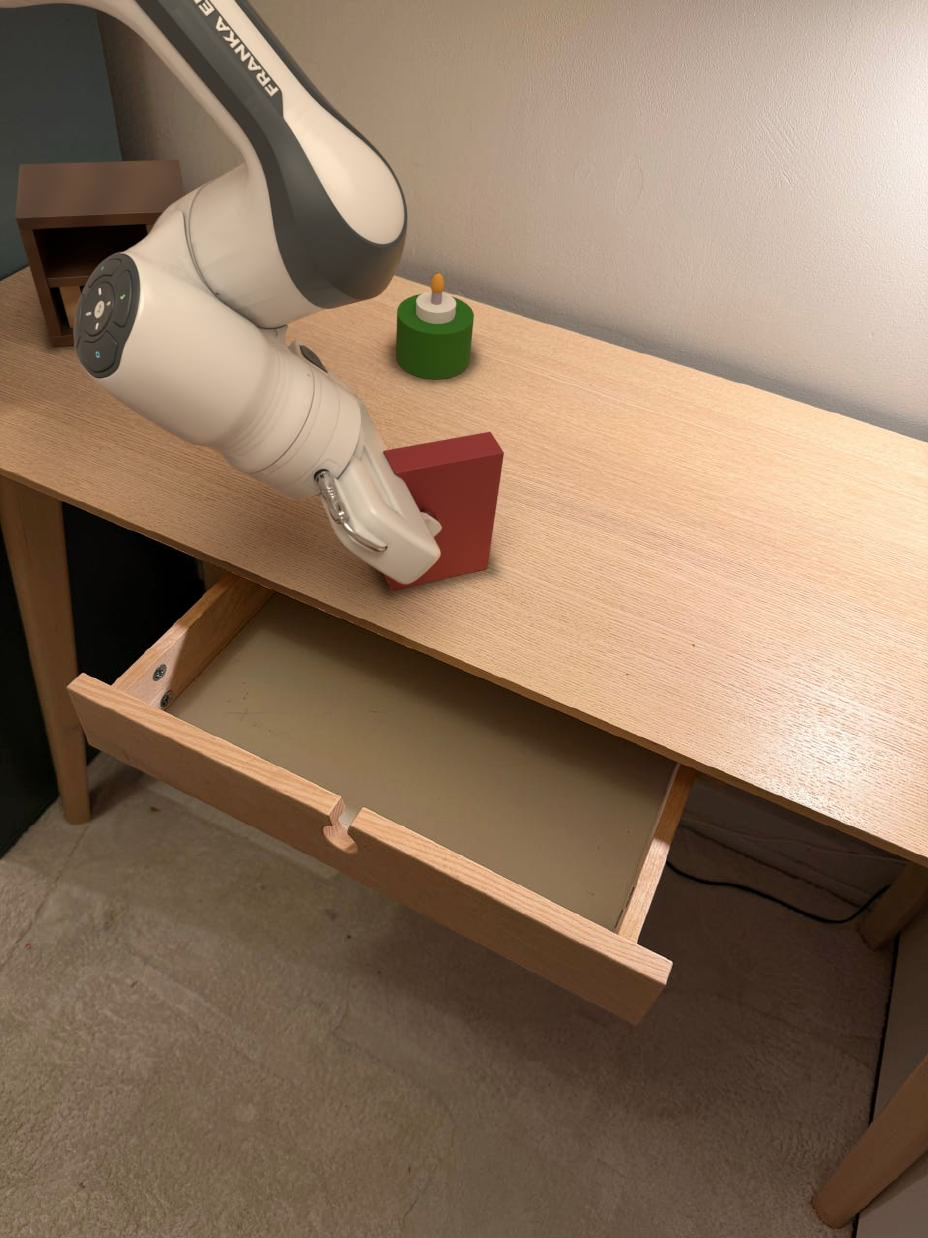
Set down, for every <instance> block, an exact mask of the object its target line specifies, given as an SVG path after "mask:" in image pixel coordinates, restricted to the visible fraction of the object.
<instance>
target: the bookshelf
mask: <svg viewBox="0 0 928 1238" xmlns="http://www.w3.org/2000/svg"><path fill="white" fill-rule="evenodd" d="M180 162H181V161H180V160H179V159H156V160H154V159H153V160H130V161H129V160H124V161H123V160H121V161H119V160H118V161H90V162H89V161H88V162H58V163H57V162H56V163H55V162H54V163H25V164H23V163H20V164H19V170H18V182H17V195H16V207H15V221H16V225H17V229H18V233H19V236H20V239H21V242H22V246H23V250H24V253H25V257H26V259H27V264H28V267H29V270H30V274H31V277H32V280H33V283H34V287H35V290H36V294H37V297H38V300H39V305H40V307H41V311H42V315H43V319H44V321H45V324H46V328H47V332H48V335H49V339H50V341H51V345H52V347H53V348H56V347H70V346H71V347H72V346H74V334H73V326H74V316H75V311H76V307H77V303H78V300H79V297H80V295H81V294H82V291H83V289H84V287H85V285H86V283H87V281H88V279H89V277H90V276H91V274H92V273H93V271H94V270H95V269H96V267H97V266H98V265H99V264H100V263H101V262H102V261H103V260H105V259H106V258H108V257H109V256H111V255H113V254H116V253H120V252H124V251H126V250H128V249H130V248H131V247H133V246H135V245H136V244H138V243H139V242H140V241H142V240H143V239H144V238H145V237H146V236H147V235H148V234H149V233H150V230H151V228H152V226H153V224H154V222H155V221H156V219H157V218H158V217H159V215H160V214H161V213H162V212H164V211H165V210H166V209H167V208H168V207H169V206H170V205H171V204H173V203H174V202H175V201H177V200H179V199H180V198H182V197H183V196H185V195H186V192H185V187H184V180H183V175H182V174H183V173H182V169H181V163H180Z"/></svg>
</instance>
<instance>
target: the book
mask: <svg viewBox="0 0 928 1238" xmlns="http://www.w3.org/2000/svg"><path fill="white" fill-rule="evenodd" d="M383 453H384V455H385V457H386V459H387V461H388V462H389V464H390V466H391V468H392V470H393V472H394V474H395V475H396V476H398V477H399V478H401V479H402V480H403V481H404V482H405V484H406V485H407V487H408V489H409V491H410V493H411V495H412V497H413V499H414V501H415V503H416V505H417V507H418V508H419V510H422V509H423V508H426V509H427V510H429V511H430V512H431V513H434V514H435V515H436V517H437V519H438V521H439V523H440V525H441V526H442V529H441V531H440V532H439V533H438V534H437V535H435V536H434V539H435V541H436V543H437V545H438V546H439V549H440V552H441V555H440V557H439V559H438V560H437V561H436V562H435V563H434V564H433V565H432V566H431V568H430V569H429V570H428V571H426V572H425V573H424V574H423V575H422V576H421V577H419V578H418V579H417V580H415V581H414V582H412V583H410V584H401V583H399V582H397V581H395V580H393V579H392V578H390V577H388V576H387V575H385V574H383V576H384V578H385V580H386V582H387V585H388V587H389V589H390V591H397V590H401V589H405V588H409V587H414V586H419V585H422V584H427V583H431V582H435V581H440V580H445V579H448V578H454V577H458V576H463V575H466V574H471V573H475V572H481V571H484V570H487V569H488V568H489V560H490V553H491V547H492V539H493V532H494V526H495V518H496V511H497V505H498V497H499V491H500V483H501V477H502V471H503V462H504V456H505V452H504V450H503V449H502V447H501V446H500V444H499V442H498V441H497V439H496V438H495V436H494V434H493V433H492V432H491V431H487V432H480V433H474V434H469V435H462V436H457V437H452V438H447V439H442V440H435V441H429V442H424V443H418V444H413V445H408V446H402V447H397V448H390V449H388V450H385V451H383Z"/></svg>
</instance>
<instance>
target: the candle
mask: <svg viewBox="0 0 928 1238" xmlns="http://www.w3.org/2000/svg"><path fill="white" fill-rule="evenodd" d="M444 289H445V280H444V276H443V275H442V274H441V273H440V272H438V273H435V274H434V275H433V277H432V278H431V281H430V290H431V291H427V292H424V293H419V294H415V295H412V296H409V297H407V298H405V299H404V300H402V301H401V302H400V303H399V305H398V306H397V308H396V309H397V310H396V340H395V359H396V363H397V364H398V365H399V367H400V368H401V369H402V370H403V371H405V372H407V373H408V374H410V375H413V376H415V377H418V378H424V379H429V380H444V379H445V380H446V379H451V378H454V377H457V376H459V375H461V374H463V373H464V372H465V371H466V370H467V369H468V367H469V366H470V361H471V349H472V339H473V329H474V321H475V320H474V319H475V314H474V311H473V309H472V308H471V306H470V305H469V304H468V303H466V302H465V301H463V300H462V299H460V298H458V297H455V296H452V295H449V294H448V293H445V292H443V291H444Z"/></svg>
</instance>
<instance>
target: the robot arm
mask: <svg viewBox="0 0 928 1238" xmlns="http://www.w3.org/2000/svg"><path fill="white" fill-rule="evenodd" d="M49 4H51V5H52V4H71V5H78V6H84V7H88V8H91V9H96V10H98V11H100V12H102V13H105V14H107V15H108V16H111V17H113V18H115V19H116V20H118V21H120V22H121V23H123V24H124V25H125V26H128V28H130V29H131V30H132V31H133V32H135V33H136V34H137V35H138V36H139V37H140V38H141V39H142V40H143V41H144V42H145V43H146V44H147V45H148V46H149V48H150V49H151V50H152V51H153V52H154V53H155V55H157V57H158V58H159V59H160V60H161V61H162V63H163V64H164V65H165V66H166V67H167V68H168V70H169V71H170V72H171V73H172V75H173V76H174V77H175V78H176V79H177V80H178V82H179V83H180V84H181V85H182V86H183V87H184V88H185V90H186V91H187V92H188V93H189V95H190V96H191V97H192V98H193V99H194V100H195V102H197V104H198V105H199V106H200V108H201V109H202V110H203V111H204V112H205V113H206V114H207V115H208V116H209V118H210V120H211V121H213V122H214V124H215V125H216V126H217V127H218V128H219V129H220V131H221V132H222V133H223V134H224V135H225V137H226V138H227V139H228V140H229V141H230V142H231V144H232V145H233V146H234V147H235V148H236V149H237V151H238V153H239V154H240V156H241V158H242V159H243V163H241V164H239V165H237V166H236V167H234V168H233V169H230V170H229V171H227V172H226V173H224V174H222V175H221V176H219V177H217V178H213V179H211V180H209V181H207V182H205V183H204V184H202V185H200V186H199V187H197V188H195V189H194V190H191V191H190V192H188V193H187V194H185V196H183V197H182V198H180V199H179V200H177V201H175V202H174V203H173V204H171V205H170V206H169V207H168V208H167V209H166V210H165V211H164V212H162V213H161V214H160V215H159V217H158V218H157V219H156V221H155V222H154V224H153V226H152V228H151V230H150V233H149V234H148V235H147V236H146V237H145V238H144V239H143V240H142V241H140V242H139V243H138V244H136V245H135V246H133V247H131V248H130V249H128V250H126V251H124V252H120V253H116V254H113V255H111V256H109V257H108V258H106V259H105V260H103V261H102V262H101V263H100V264H99V265H98V266H97V267H96V269H95V270H94V271H93V273H92V274H91V276H90V277H89V279H88V281H87V283H86V285H85V287H84V289H83V291H82V294H81V295H80V297H79V300H78V303H77V307H76V311H75V316H74V326H73V334H74V345H73V346H74V351H75V355H76V358H77V360H78V362H79V364H80V366H81V367H82V369H83V371H85V373H86V374H87V375H88V376H89V377H90V379H91V380H92V381H93V382H94V383H95V384H96V385H97V386H98V387H99V388H100V389H101V390H102V391H104V392H105V394H107V395H109V396H110V397H111V398H112V399H113V400H114V401H116V402H117V403H119V404H121V405H122V406H123V407H124V408H126V409H128V410H129V411H131V412H132V413H134V414H136V415H137V416H138V417H140V418H142V419H144V420H145V421H146V422H148V423H150V424H151V425H153V426H155V427H156V428H158V429H160V430H161V431H164V432H166V433H167V434H169V435H171V436H172V437H174V438H176V439H178V440H180V441H181V442H184V443H185V444H188V445H191V446H194V447H199V448H205V449H207V450H210V451H212V452H214V453H215V454H216V455H218V456H219V457H220V458H221V459H222V460H223V461H224V462H225V463H226V465H228V466H229V467H230V468H232V469H233V470H234V471H236V472H239V473H240V474H242V475H244V476H246V477H247V478H249V479H251V480H253V481H255V482H256V483H259V484H260V485H262V486H264V487H265V488H268V489H270V490H271V491H273V492H275V493H277V494H278V495H281V496H283V497H284V498H286V499H289V500H290V501H291V500H292V501H305V500H309V499H312V498H315V497H317V496H318V497H319V499H320V502H321V504H322V506H323V509H324V511H325V513H326V516H327V518H328V521H329V523H330V525H331V528H332V529H333V532H334V533H335V535H336V537H337V539H338V540H339V541H340V542H341V544H342V545H343V546H344V547H345V548H346V549H347V550H349V551H350V552H351V553H352V554H353V555H354V556H356V557H357V558H358V559H360V560H362V561H363V562H364V563H366V564H368V565H369V566H371V567H372V568H374V569H375V570H377V571H378V572H380V573H382V574H383V575H384V574H385V575H387V576H388V577H390V578H392V579H393V580H395V581H397V582H399V583H401V584H410V583H412V582H414V581H415V580H417V579H418V578H419V577H421V576H422V575H423V574H424V573H425V572H426V571H428V570H429V569H430V568H431V566H432V565H433V564H434V563H435V562H436V561H437V560H438V559H439V557H440V555H441V552H440V549H439V546H438V545H437V543H436V541H435V539H434V536H435V535H437V534H438V533H439V532H440V531H441V529H442V526H441V525H440V523H439V521H438V519H437V517H436V515H435V514H434V513H431V512H430V511H429V510H427V509H426V508H423V509H422V510H419V508H418V507H417V505H416V503H415V501H414V499H413V497H412V495H411V493H410V491H409V489H408V487H407V485H406V484H405V482H404V481H403V480H402V479H401V478H399V477H398V476H396V475H395V474H394V472H393V470H392V468H391V466H390V464H389V462H388V461H387V459H386V457H385V455H384V453H383V451H385V450H389V449H388V447H387V445H386V443H385V441H384V439H383V437H382V436H381V433H380V431H379V430H378V428H377V426H376V423H375V422H374V420H373V418H372V416H371V414H370V412H369V411H368V408H367V406H366V404H365V402H364V401H363V400H362V399H361V397H359V396H358V394H357V393H356V392H355V390H353V389H352V388H351V387H350V386H349V385H348V384H347V383H346V382H344V381H343V380H342V379H341V378H340V377H338V376H337V375H336V374H335V373H333V371H331V370H330V369H329V368H327V367H326V366H325V365H324V364H323V362H322V361H321V359H320V357H319V355H318V354H317V353H316V351H315V350H313V348H311V347H310V346H309V345H307V344H306V343H305V342H303V340H302V341H301V340H300V339H295V340H293V341H292V342H291V343H290V344H289V345H287V343H286V335H287V331H288V327H289V324H292V323H294V322H297V321H300V320H303V319H305V318H307V317H309V316H313V315H315V314H317V313H319V312H322V311H324V310H332V309H336V308H341V307H344V306H348V305H352V304H356V303H360V302H365V301H367V300H372V299H374V298H377V297H379V296H380V295H381V294H382V293H383V292H385V290H386V289H387V288H388V287H389V285H390V284H391V282H392V280H393V279H394V276H395V274H396V272H397V270H398V268H399V265H400V262H401V259H402V256H403V254H404V253H403V252H404V249H405V244H406V239H407V232H408V207H407V201H406V198H405V194H404V191H403V188H402V186H401V183H400V181H399V179H398V177H397V175H396V174H395V172H394V170H393V168H392V167H391V165H390V164H389V162H388V161H387V159H386V158H385V157H384V155H382V153H381V152H380V151H379V149H377V148H376V146H375V145H374V144H373V143H372V142H371V141H370V140H369V139H368V138H367V137H366V136H365V135H364V134H363V133H362V132H361V131H359V129H357V128H356V127H355V126H354V125H353V124H352V123H351V122H350V121H348V119H347V118H346V117H345V116H344V115H343V114H342V113H340V111H339V110H338V109H337V108H335V106H333V104H331V103H330V101H329V100H328V99H327V98H326V97H325V96H324V94H323V93H322V92H321V90H320V89H318V87H317V86H316V85H315V84H314V83H313V81H312V80H311V78H310V77H309V76H308V75H307V74H306V72H305V71H304V70H303V69H302V67H301V66H300V64H299V63H298V62H297V61H296V60H295V58H294V57H293V56H292V54H291V53H290V52H289V50H288V49H287V48H286V47H285V45H284V44H283V43H282V42H281V41H280V39H279V38H278V36H277V35H276V34H275V33H274V31H273V30H272V29H271V28H270V26H269V25H268V23H267V22H266V21H265V20H264V19H263V17H262V16H261V15H260V14H259V12H258V11H257V10H256V8H255V7H254V5H253V4H252V3H251V2H250V1H249V0H0V9H12V8H13V9H15V8H23V7H30V6H31V7H33V6H38V5H49Z"/></svg>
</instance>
